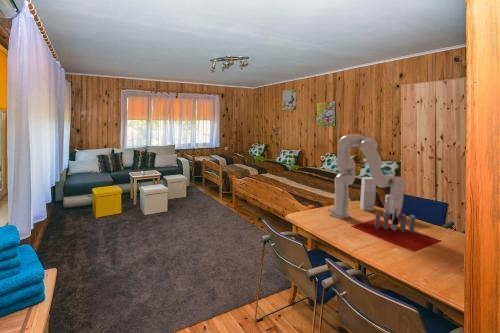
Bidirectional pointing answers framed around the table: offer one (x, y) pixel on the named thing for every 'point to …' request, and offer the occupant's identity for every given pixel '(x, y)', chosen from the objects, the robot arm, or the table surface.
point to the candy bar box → (387, 205)
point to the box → (367, 194)
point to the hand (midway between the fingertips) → (393, 222)
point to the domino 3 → (393, 225)
